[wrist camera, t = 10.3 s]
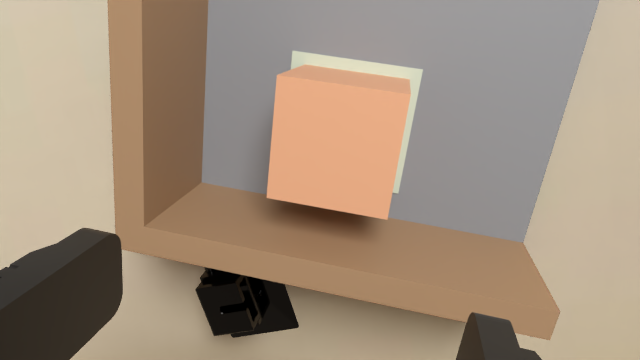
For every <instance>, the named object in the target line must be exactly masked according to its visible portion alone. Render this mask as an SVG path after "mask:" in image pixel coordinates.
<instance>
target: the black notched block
mask: <svg viewBox="0 0 640 360" xmlns="http://www.w3.org/2000/svg"><path fill="white" fill-rule="evenodd" d="M205 270H206V271H205V272H204V273H203V275H202V276H201V277H200V279H201V283H200V284H199V285H198V287H197V288H196V289H195V290H196V293H197V295H198V298H199V300H200V302H201V305H202V307H203V310H204V312H205V315H206V317H207V320H208V322H209V325H210V327H211V330H212V332H213V335H214V336H218V335H225V334H231V336H232V337H233V338H235V337H241V336H248V335H254V334H261V333H267V332H274V331H280V330H287V329H293V328H298V327H299V325H298V322H297V319H296V316H295V313H294V310H293V308H292V305H291V302H290V299H289V296H288V293H287V290H286V287H285V285H284V284H283V283H278V282H273V281H269V280H264V279H259V278H254V277H250V276H245V275H240V274H236V273H231V272H226V271H221V270H217V269H212V268H207V267H205Z"/></svg>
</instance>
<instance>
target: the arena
mask: <svg viewBox="0 0 640 360" xmlns="http://www.w3.org/2000/svg"><path fill="white" fill-rule="evenodd" d="M598 3H599V0H108V25H109V55H110V84H111V113H112V143H113V172H114V201H115V231H116V235H118V236H119V238H120V240H121V249H122V250H127V251H132V252H137V253H141V254H146V255H151V256H155V257H160V258H165V259H170V260H174V261H179V262H184V263H188V264H193V265H198V266H203V267H207V268H212V269H217V270H221V271H226V272H231V273H236V274H240V275H245V276H250V277H254V278H259V279H264V280H269V281H273V282H278V283H283V284H287V285H292V286H297V287H301V288H306V289H311V290H316V291H320V292H325V293H330V294H334V295H339V296H344V297H349V298H353V299H358V300H363V301H367V302H372V303H377V304H382V305H386V306H391V307H396V308H400V309H405V310H410V311H415V312H419V313H424V314H429V315H433V316H438V317H443V318H448V319H452V320H457V321H462V322H466V323H467V320H468V317H469V315H470V314H471V313H472V312H474V313H479V314H484V315H488V316H493V317H498V318H502V319H507V320H509V321H510V322H511V324H512V326H513V329H514V332H515V333H518V334H523V335H528V336H532V337H537V338H542V339H546V340H550V338H551V336H552V333H553V330H554V327H555V325H556V322H557V319H558V317H559V314H560V310H559V308H558V307H557V305H556V303H555V301H554V299H553V297H552V295H551V294H550V292H549V290H548V288H547V286H546V284H545V282H544V281H543V279H542V277H541V275H540V273H539V271H538V270H537V268H536V266H535V264H534V262H533V260H532V258H531V257H530V255H529V253H528V251H527V249H526V247H525V245H524V244H523V241H524V238H525V235H526V232H527V228H528V225H529V222H530V219H531V216H532V213H533V209H534V206H535V203H536V200H537V197H538V194H539V190H540V187H541V184H542V181H543V178H544V174H545V171H546V168H547V165H548V162H549V159H550V155H551V152H552V149H553V146H554V143H555V140H556V136H557V133H558V130H559V127H560V124H561V121H562V117H563V114H564V111H565V108H566V105H567V101H568V98H569V95H570V92H571V89H572V86H573V82H574V79H575V76H576V73H577V70H578V67H579V63H580V60H581V57H582V54H583V51H584V48H585V44H586V41H587V38H588V35H589V32H590V28H591V25H592V22H593V19H594V16H595V13H596V9H597V6H598ZM304 64H306V65H313V66H320V67H327V68H334V69H341V70H348V71H355V72H362V73H369V74H377V75H384V76H391V77H398V78H405V79H410V90H411V96H410V102H409V107H408V112H407V118H406V123H405V129H404V134H403V139H402V145H401V150H400V155H399V161H398V166H397V171H396V177H395V182H394V187H393V193H392V198H391V203H390V209H389V214H388V219H387V220H385V219H380V218H374V217H369V216H363V215H358V214H352V213H347V212H342V211H336V210H331V209H325V208H320V207H314V206H309V205H303V204H298V203H292V202H287V201H281V200H276V199H270V198H267V186H268V174H269V162H270V150H271V138H272V126H273V115H274V103H275V91H276V79H277V75H278V74H281V73H283V72H286V71H289V70H291V69H294V68H296V67H299V66H302V65H304Z"/></svg>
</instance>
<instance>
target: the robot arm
mask: <svg viewBox="0 0 640 360" xmlns="http://www.w3.org/2000/svg"><path fill="white" fill-rule="evenodd" d="M122 293H123V284H122V249H121V240H120V238H119V236H118V235H116V234H113V233H108V232H103V231H99V230H94V229H89V228H82V229H80V230H78V231H76V232H75V233H73V234H71V235H70V236H68V237H67V238H65V239H63V240H62V241H60V242H58V243H57V244H54V245H51V246H48V247H45V248H42V249H39V250H36V251H33V252H30V253H29V254H27V255H25V256H24V257H22V258H20V259H19V260H17V261H15V262H14V263H12V264H10V267H9V268H8V267H5V268H3V269H2V270H0V360H70V359H71V358H72V357H73V356H74V355H75V354H76V353H77V352H78V351H79V350H80V349H81V348H82V347H83V346H84V345H85V344H86V343H87V342H88V341H89V340H90V339H91V338H92V337H93V336H94V335H95V334H96V333H97V332H98V331H99V330H100V329H101V328H102V327H103V326H104V325H105V324H106V323H107V322H108V321H110V320H111V318H112V317H113V316H114V315H115V313H116V312H117V310H118V308H119V305H120V303H121V299H122ZM456 360H542V359H541V358H540V357H539V356H538V355H537V354H536V352H535V351H531V350H527V349H523V348H520V347H519V344H518V341H517V338H516V335H515V332H514V329H513V326H512V324H511V322H510V321H509V320H507V319H502V318H498V317H493V316H488V315H484V314H479V313H474V312H472V313H471V314H470V315H469V317H468V320H467V323H466V326H465V330H464V333H463V337H462V340H461V344H460V347H459V351H458V354H457V358H456Z"/></svg>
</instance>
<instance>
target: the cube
mask: <svg viewBox="0 0 640 360" xmlns="http://www.w3.org/2000/svg"><path fill="white" fill-rule="evenodd" d="M410 96H411V90H410V79H405V78H398V77H391V76H384V75H377V74H369V73H362V72H355V71H348V70H341V69H334V68H327V67H320V66H313V65H306V64H304V65H302V66H299V67H296V68H294V69H291V70H289V71H286V72H283V73H281V74H278V75H277V79H276V91H275V103H274V115H273V126H272V138H271V150H270V162H269V174H268V186H267V198H270V199H276V200H281V201H287V202H292V203H298V204H303V205H309V206H314V207H320V208H325V209H331V210H336V211H342V212H347V213H352V214H358V215H363V216H369V217H374V218H380V219H385V220H387V219H388V214H389V209H390V203H391V198H392V193H393V187H394V182H395V177H396V171H397V166H398V161H399V155H400V150H401V145H402V139H403V134H404V129H405V123H406V118H407V112H408V107H409V102H410Z"/></svg>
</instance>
